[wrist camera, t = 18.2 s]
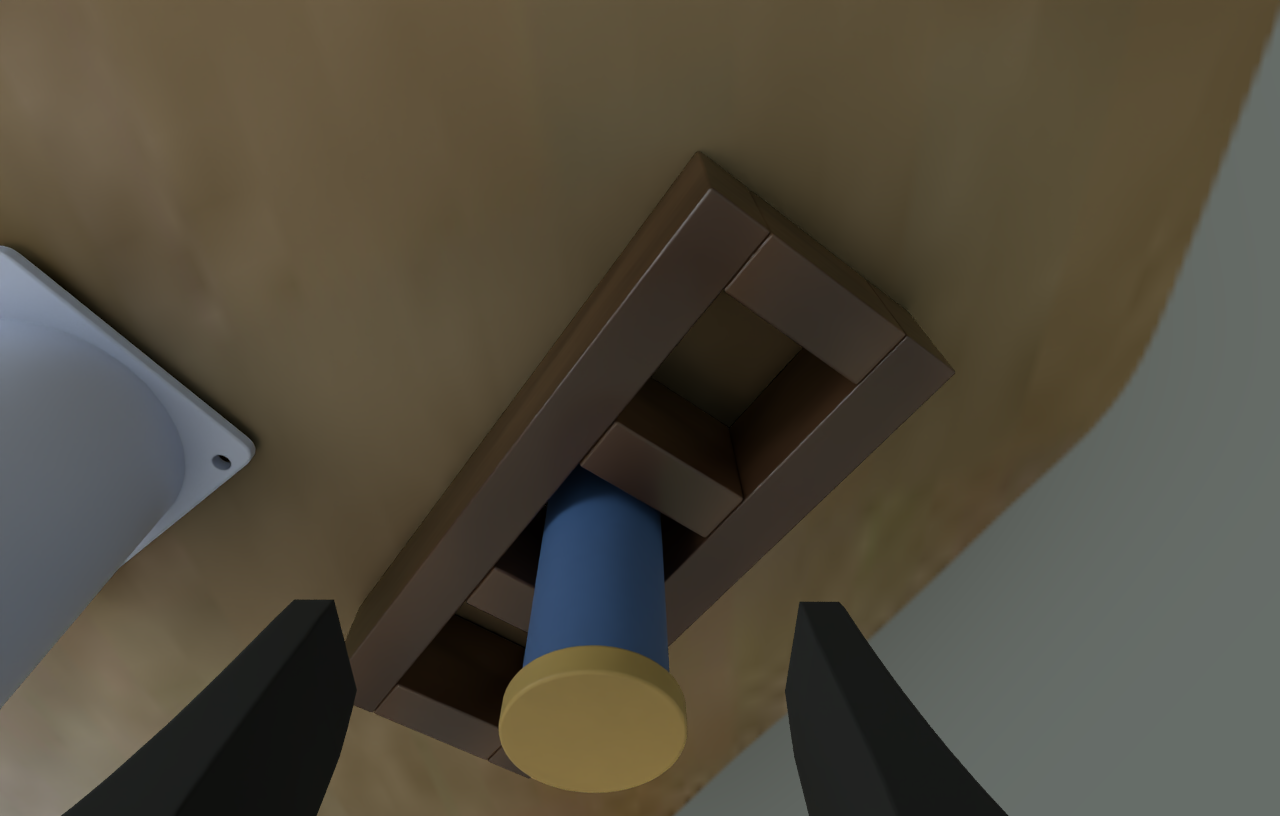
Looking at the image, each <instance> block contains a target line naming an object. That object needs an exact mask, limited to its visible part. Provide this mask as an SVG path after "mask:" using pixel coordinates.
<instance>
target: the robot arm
mask: <svg viewBox="0 0 1280 816" xmlns="http://www.w3.org/2000/svg"><path fill="white" fill-rule="evenodd" d="M255 450H256V448H255V446H254V443H253V442H252V441H251V440H250V439H249V438H248V437H247V436H246V435H245V434H243V433H242V432H241V431H240V430H238V429H237V428H236V427H235V426H233V425H232V424H231V423H230V422H228V421H227V420H226V419H225V418H223V417H222V416H221V415H220V414H218V413H217V412H216V411H215V410H214V409H212V408H211V407H210V406H209V405H207V404H206V403H205V402H204V401H202V400H201V399H200V398H199V397H197V396H196V395H195V394H194V393H192V392H191V391H190V390H189V389H187V388H186V387H185V386H184V385H182V384H181V383H180V382H179V381H178V380H176V379H175V378H174V377H173V376H171V375H170V374H169V373H168V372H166V371H165V370H164V369H163V368H161V367H160V366H159V365H158V364H156V363H155V362H154V361H153V360H151V359H150V358H149V357H148V356H146V355H145V354H144V353H143V352H141V351H140V350H139V349H138V348H137V347H135V346H134V345H133V344H132V343H130V342H129V341H128V340H127V339H125V338H124V337H123V336H122V335H120V334H119V333H118V332H117V331H115V330H114V329H113V328H112V327H110V326H109V325H108V324H107V323H105V322H104V321H103V320H102V319H101V318H99V317H98V316H97V315H96V314H94V313H93V312H92V311H91V310H89V309H88V308H87V307H86V306H84V305H83V304H82V303H81V302H79V301H78V300H77V299H76V298H74V297H73V296H72V295H71V294H69V293H68V292H67V291H66V290H64V289H63V288H62V287H61V286H60V285H58V284H57V283H56V282H55V281H53V280H52V279H51V278H50V277H48V276H47V275H46V274H45V273H43V272H42V271H41V270H40V269H38V268H37V267H36V266H35V265H33V264H32V263H31V262H30V261H28V260H27V259H26V258H25V257H24V256H22V255H21V254H20V253H18V252H17V251H15V250H13V249H12V248H9V247H5V246H0V709H1V708H2V706H3V705H4V704H5V703H6V702H7V700H8V699H9V698H10V697H11V696H12V695H13V693H14V692H15V691H16V690H17V689H18V687H19V686H20V685H21V684H22V683H23V681H24V680H25V679H26V678H27V677H28V676H29V674H30V673H31V672H32V671H33V670H34V668H35V667H36V666H37V665H38V664H39V663H40V661H41V660H42V659H43V658H44V657H45V655H46V654H47V653H48V652H49V651H50V649H51V648H52V647H53V646H54V645H55V644H56V642H57V641H58V640H59V639H60V638H61V636H62V635H63V634H64V633H65V632H66V630H67V629H68V628H69V627H70V626H71V625H72V623H73V622H74V621H75V620H76V619H77V617H78V616H79V615H80V614H81V613H82V611H83V610H84V609H85V608H86V607H87V606H88V604H89V603H90V602H91V601H92V600H93V598H94V597H95V596H96V595H97V594H98V593H99V591H100V590H101V589H102V588H103V587H104V585H105V584H106V583H107V582H108V581H109V579H110V578H111V577H112V576H113V575H114V574H115V572H116V571H117V570H118V569H119V568H120V567H121V566H122V565H124V564H125V563H126V562H127V561H128V560H130V559H131V558H132V557H133V556H135V555H136V554H137V553H138V552H140V551H141V550H142V549H143V548H145V547H146V546H147V545H148V544H149V543H151V542H152V541H153V540H154V539H156V538H157V537H158V536H159V535H161V534H162V533H163V532H164V531H165V530H167V529H168V528H169V527H170V526H172V525H173V524H174V523H175V522H177V521H178V520H179V519H180V518H182V517H183V516H184V515H185V514H186V513H188V512H189V511H190V510H191V509H193V508H194V507H195V506H196V505H198V504H199V503H200V502H201V501H203V500H204V499H205V498H206V497H207V496H209V495H210V494H211V493H212V492H214V491H215V490H216V489H217V488H219V487H220V486H221V485H222V484H223V483H225V482H226V481H227V480H228V479H230V478H231V477H232V476H233V475H235V474H236V473H237V472H238V471H240V470H241V469H242V468H243V467H244V466H246V465H247V464H248V463H249V461H250V460H251V459H252V457H253V456H254V455H255ZM219 455H223V456H225V457H227V458H228V459H229V460H230V462H226V461H224V460H222V459H221V458H220V457H219ZM356 692H357V688H356V684H355V680H354V676H353V672H352V669H351V665H350V661H349V657H348V653H347V649H346V645H345V641H344V637H343V634H342V630H341V626H340V622H339V618H338V614H337V610H336V606H335V602H334V600H293V601H292V602H291V603H290V604H289V605H288V606H287V607H286V608H285V609H284V610H283V611H282V612H281V613H280V614H279V615H278V616H277V617H276V618H275V619H274V620H273V621H272V622H271V623H270V624H269V625H268V626H267V627H266V628H265V629H264V630H263V631H262V632H261V633H260V634H259V635H258V636H257V637H256V638H255V639H254V640H253V641H252V642H251V643H250V644H249V645H248V646H247V647H246V648H245V649H244V650H243V651H242V652H241V653H240V654H239V655H238V656H237V657H236V658H235V659H234V660H233V661H232V662H231V663H230V664H229V665H228V666H227V667H226V668H225V669H224V670H223V671H222V672H221V673H220V674H219V675H218V676H217V677H216V678H215V679H214V680H213V681H212V682H211V683H210V684H209V685H208V686H207V687H206V688H205V689H204V690H203V691H202V692H201V693H200V694H198V695H197V696H196V697H195V698H194V699H193V700H192V701H191V702H190V703H189V704H188V705H187V706H186V707H185V708H184V709H183V710H182V711H181V712H180V713H179V714H178V715H177V716H176V717H175V718H174V719H172V720H171V721H170V722H169V723H168V724H167V725H166V726H165V727H164V728H163V729H162V730H160V731H159V732H158V733H157V734H156V735H155V736H154V737H153V738H152V739H150V740H149V741H148V742H147V743H146V744H145V745H144V746H143V747H142V748H140V749H139V750H138V751H137V752H136V753H135V754H134V755H133V756H132V757H130V758H129V759H128V760H127V761H126V762H125V763H124V764H123V765H122V766H120V767H119V768H118V769H117V770H116V771H115V772H114V773H112V774H111V775H110V776H109V777H108V778H107V779H105V780H104V781H103V782H102V783H101V784H100V785H98V786H97V787H96V788H95V789H94V790H92V791H91V792H90V793H89V794H88V795H86V796H85V797H84V798H83V799H82V800H80V801H79V802H78V803H77V804H75V805H74V806H73V807H72V808H70V809H69V810H68V811H67V812H65V813H64V814H63V815H62V816H317V813H318V811H319V808H320V806H321V803H322V801H323V798H324V795H325V793H326V790H327V788H328V785H329V783H330V780H331V777H332V775H333V772H334V770H335V767H336V764H337V762H338V759H339V757H340V753H341V750H342V746H343V742H344V739H345V735H346V732H347V728H348V724H349V720H350V716H351V712H352V708H353V704H354V700H355V696H356ZM785 694H786V701H787V709H788V716H789V724H790V730H791V737H792V744H793V751H794V757H795V761H796V765H797V769H798V773H799V777H800V781H801V785H802V789H803V793H804V797H805V801H806V805H807V809H808V813H809V816H1008V815H1007V814H1006V813H1005V812H1004V811H1003V810H1002V808H1001V807H1000V806H999V805H998V804H997V803H996V802H995V801H994V800H993V799H992V798H991V797H990V795H989V794H988V793H987V792H986V791H985V790H984V789H983V788H982V787H981V786H980V784H979V783H978V782H977V781H976V780H975V779H974V778H973V776H972V775H971V774H970V773H969V772H968V771H967V769H966V768H965V767H964V766H963V765H962V764H961V763H960V761H959V760H958V759H957V758H956V757H955V756H954V755H953V753H952V752H951V751H950V750H949V749H948V747H947V746H946V745H945V744H944V742H943V741H942V740H941V739H940V738H939V736H938V735H937V734H936V733H935V731H934V730H933V729H932V728H931V727H930V725H929V724H928V723H927V721H926V720H925V719H924V718H923V716H922V715H921V714H920V712H919V711H918V710H917V709H916V707H915V706H914V705H913V703H912V702H911V701H910V700H909V698H908V697H907V696H906V694H905V693H904V692H903V691H902V689H901V688H900V686H899V685H898V684H897V683H896V681H895V680H894V679H893V677H892V676H891V674H890V673H889V672H888V670H887V669H886V667H885V666H884V665H883V663H882V662H881V660H880V659H879V658H878V656H877V655H876V654H875V652H874V651H873V649H872V648H871V646H870V645H869V643H868V642H867V640H866V639H865V638H864V636H863V635H862V633H861V632H860V630H859V629H858V627H857V626H856V624H855V623H854V621H853V620H852V618H851V617H850V615H849V614H848V612H847V611H846V609H845V608H844V607H843V606H842V605H841V604H840V603H839V602H800V603H799V609H798V615H797V621H796V627H795V633H794V640H793V646H792V652H791V658H790V664H789V671H788V677H787V683H786V689H785Z"/></svg>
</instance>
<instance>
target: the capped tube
mask: <svg viewBox="0 0 1280 816" xmlns="http://www.w3.org/2000/svg"><path fill="white" fill-rule="evenodd" d="M498 728H499V737H500V741H501V745H502V747H503V749H504V751H505V753H506V755H507V756H508V758H509V759H510V760H511V761H512V762H513V763H514V765H515V766H516V767H518V768H519V769H520V770H521V771H523V772H524V773H525V774H527V775H528V776H530V777H532V778H533V779H535V780H538V781H540V782H542V783H544V784H547V785H549V786H552V787H556V788H559V789H563V790H569V791H574V792H584V793H604V792H614V791H620V790H625V789H629V788H633V787H636V786H639V785H642V784H644V783H646V782H649V781H651V780H653V779H654V778H656V777H658V776H660V775H661V774H662V773H664V772H665V771H667V770H668V769H669V768H670V767H671V766H672V765H673V764H674V763H675V761H676V760H677V759H678V758H679V756H680V754H681V752H682V751H683V748H684V746H685V743H686V739H687V717H686V704H685V699H684V695H683V693H682V690H681V688H680V686H679V685H678V683H677V682H676V680H675V679H674V677H673V676H672V675H671V674H670V673H669V657H668V639H667V621H666V602H665V584H664V566H663V548H662V530H661V512H659V511H657V510H656V509H654V508H652V507H650V506H649V505H647V504H645V503H643V502H642V501H640V500H638V499H637V498H635V497H633V496H631V495H630V494H628V493H626V492H624V491H623V490H621V489H619V488H617V487H616V486H614V485H612V484H611V483H609V482H607V481H605V480H604V479H602V478H600V477H598V476H597V475H595V474H593V473H591V472H590V471H588V470H586V469H585V468H583V467H581V466H580V463H579V464H578V465H577V466H576V468H575V469H574V470H573V471H572V472H571V474H570V475H569V476H568V477H567V478H566V480H565V481H564V482H563V483H562V484H561V486H560V487H559V488H558V489H557V490H556V492H555V493H554V494H553V495H552V497H551V498H550V499H549V500H548V505H547V511H546V518H545V524H544V531H543V538H542V544H541V551H540V557H539V564H538V570H537V577H536V584H535V590H534V597H533V603H532V610H531V616H530V623H529V629H528V636H527V643H526V649H525V656H524V662H523V668H522V669H521V670H520V671H519V672H518V673H517V674H516V675H515V676H514V678H513V679H512V680H511V681H510V683H509V685H508V687H507V688H506V691H505V694H504V696H503V702H502V708H501V714H500V720H499V726H498Z"/></svg>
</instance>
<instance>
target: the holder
mask: <svg viewBox="0 0 1280 816" xmlns="http://www.w3.org/2000/svg"><path fill="white" fill-rule="evenodd" d="M723 289H724V291H725V292H726V293H727V294H728V295H730V296H731V297H733V298H734V299H736V300H737V301H738V302H740V303H741V304H743V305H744V306H745V307H747V308H748V309H750V310H751V311H752V312H754V313H755V314H757V315H758V316H759V317H761V318H762V319H764V320H765V321H767V322H768V323H769V324H771V325H772V326H774V327H775V328H776V329H778V330H779V331H781V332H782V333H783V334H785V335H786V336H788V337H789V338H790V339H792V340H793V341H795V342H796V343H797V344H799V345H800V346H802V347H803V349H802V350H801V351H800V352H799V353H798V354H797V355H796V357H795V358H794V359H793V360H792V361H791V362H790V363H789V364H788V365H787V366H786V367H785V369H784V370H783V371H782V372H781V373H780V374H779V375H778V376H777V377H776V378H775V379H774V380H773V382H772V383H771V384H770V385H769V386H768V387H767V388H766V389H765V390H764V391H763V392H762V393H761V395H760V396H759V397H758V398H757V399H756V400H755V401H754V402H753V403H752V404H751V405H750V407H749V408H748V409H747V410H746V411H745V412H744V413H743V414H742V415H741V416H740V417H739V418H738V420H737V421H736V422H735V423H734V424H733V425H732V426H731V427H730V428H728V427H727V426H725V425H724V424H722V423H721V422H719V421H717V420H716V419H714V418H713V417H711V416H710V415H708V414H707V413H705V412H703V411H702V410H700V409H699V408H697V407H696V406H694V405H693V404H691V403H689V402H688V401H686V400H685V399H683V398H682V397H680V396H678V395H677V394H675V393H674V392H672V391H671V390H669V389H668V388H666V387H664V386H663V385H661V384H660V383H658V382H657V381H655V380H654V379H652V378H650V377H651V376H652V375H653V373H654V372H655V371H656V370H657V369H658V367H659V366H660V365H661V364H662V362H663V361H664V360H665V359H666V358H667V356H668V355H669V354H670V353H671V352H672V350H673V349H674V348H675V347H676V346H677V344H678V343H679V342H680V341H681V340H682V338H683V337H684V336H685V335H686V333H687V332H688V331H689V330H690V329H691V327H692V326H693V325H694V324H695V323H696V321H697V320H698V319H699V318H700V317H701V315H702V314H703V313H704V312H705V311H706V309H707V308H708V307H709V306H710V305H711V303H712V302H713V301H714V300H715V298H716V297H717V296H718V295H719V294H720V292H721V291H722V290H723ZM954 374H955V371H954V369H953V368H952V367H951V366H950V364H949V363H948V362H947V361H946V359H945V358H944V357H943V355H942V354H941V353H940V352H939V350H938V349H937V348H936V347H935V345H934V344H933V343H932V342H931V340H930V339H929V338H928V337H927V335H926V334H925V333H924V332H923V330H922V329H921V328H920V326H919V325H918V324H917V323H916V321H915V320H914V319H913V318H912V316H911V315H910V314H909V313H908V312H907V311H906V310H905V309H904V308H902V307H901V306H900V305H898V304H897V303H896V302H894V301H893V300H892V299H891V298H889V297H888V296H887V295H885V294H884V293H883V292H882V291H880V290H879V289H878V288H876V287H875V286H874V285H872V284H871V283H870V282H869V281H866V280H865V279H864V278H863V277H862V276H861V275H859V274H858V273H857V272H855V271H854V270H853V269H852V268H850V267H849V266H848V265H846V264H845V263H844V262H842V261H841V260H840V259H839V258H837V257H836V256H835V255H833V254H832V253H831V252H830V251H828V250H827V249H826V248H824V247H823V246H822V245H820V244H819V243H818V242H817V241H815V240H814V239H813V238H811V237H810V236H809V235H808V234H806V233H805V232H804V231H802V230H801V229H800V228H798V227H797V226H796V225H795V224H793V223H792V222H791V221H789V220H788V219H787V218H786V217H784V216H783V215H782V214H780V213H779V212H778V211H776V210H775V209H774V208H773V207H771V206H770V205H769V204H767V203H766V202H765V201H764V200H762V199H761V198H760V197H758V196H757V195H756V194H754V193H753V192H752V191H749V190H748V188H747V187H746V186H744V185H743V184H742V183H740V182H739V181H738V180H736V179H735V178H734V177H733V176H731V175H730V174H729V173H727V172H726V171H725V170H724V169H722V168H721V167H720V166H718V165H717V164H716V163H714V162H713V161H712V160H711V159H709V158H708V157H707V156H705V155H704V154H703V153H702V152H700V151H698V152H696V153H695V155H694V156H693V157H692V159H691V160H690V161H689V163H688V164H687V165H686V167H685V168H684V170H683V171H682V172H681V174H680V175H679V176H678V178H677V179H676V180H675V182H674V183H673V184H672V186H671V187H670V188H669V190H668V191H667V192H666V194H665V195H664V197H663V198H662V199H661V201H660V202H659V203H658V205H657V206H656V207H655V209H654V210H653V211H652V213H651V214H650V215H649V217H648V218H647V220H646V221H645V222H644V224H643V225H642V226H641V228H640V229H639V230H638V232H637V233H636V234H635V236H634V237H633V238H632V240H631V241H630V243H629V244H628V245H627V247H626V248H625V249H624V251H623V252H622V253H621V255H620V256H619V257H618V259H617V260H616V261H615V263H614V264H613V266H612V267H611V268H610V270H609V271H608V272H607V274H606V275H605V276H604V278H603V279H602V280H601V282H600V283H599V284H598V286H597V287H596V288H595V290H594V291H593V293H592V294H591V295H590V297H589V298H588V299H587V301H586V302H585V303H584V305H583V306H582V307H581V309H580V310H579V311H578V313H577V314H576V316H575V317H574V318H573V320H572V321H571V322H570V324H569V325H568V326H567V328H566V329H565V330H564V332H563V333H562V334H561V336H560V337H559V339H558V340H557V341H556V343H555V344H554V345H553V347H552V348H551V349H550V351H549V352H548V353H547V355H546V356H545V357H544V359H543V360H542V362H541V363H540V364H539V366H538V367H537V368H536V370H535V371H534V372H533V374H532V375H531V376H530V378H529V379H528V380H527V382H526V383H525V384H524V386H523V387H522V389H521V390H520V391H519V393H518V394H517V395H516V397H515V398H514V399H513V401H512V402H511V403H510V405H509V406H508V407H507V409H506V410H505V412H504V413H503V414H502V416H501V417H500V418H499V420H498V421H497V422H496V424H495V425H494V426H493V428H492V429H491V430H490V432H489V433H488V435H487V436H486V437H485V439H484V440H483V441H482V443H481V444H480V445H479V447H478V448H477V449H476V451H475V452H474V453H473V455H472V456H471V458H470V459H469V460H468V462H467V463H466V464H465V466H464V467H463V468H462V470H461V471H460V472H459V474H458V475H457V476H456V478H455V479H454V480H453V482H452V483H451V485H450V486H449V487H448V489H447V490H446V491H445V493H444V494H443V495H442V497H441V498H440V499H439V501H438V502H437V503H436V505H435V506H434V508H433V509H432V510H431V512H430V513H429V514H428V516H427V517H426V518H425V520H424V521H423V522H422V524H421V525H420V526H419V528H418V529H417V531H416V532H415V533H414V535H413V536H412V537H411V539H410V540H409V541H408V543H407V544H406V545H405V547H404V548H403V549H402V551H401V552H400V554H399V555H398V556H397V558H396V559H395V560H394V562H393V563H392V564H391V566H390V567H389V568H388V570H387V571H386V572H385V574H384V575H383V576H382V578H381V579H380V581H379V582H378V583H377V585H376V586H375V587H374V589H373V590H372V591H371V593H370V594H369V595H368V597H367V598H366V599H365V601H364V602H363V604H362V605H361V606H360V608H359V610H358V612H357V615H356V617H355V619H354V622H353V624H352V627H351V629H350V631H349V634H348V636H347V639H346V641H345V645H346V649H347V653H348V657H349V661H350V665H351V669H352V672H353V676H354V680H355V684H356V688H357V692H356V696H355V700H354V704H353V705H355V706H357V707H360V708H362V709H364V710H367V711H369V712H373V711H374V713H375V714H377V715H379V716H382V717H384V718H387V719H389V720H391V721H394V722H396V723H399V724H401V725H403V726H406V727H408V728H411V729H413V730H415V731H418V732H420V733H423V734H425V735H427V736H430V737H432V738H435V739H437V740H439V741H442V742H444V743H447V744H449V745H451V746H454V747H456V748H458V749H461V750H463V751H466V752H468V753H470V754H473V755H475V756H478V757H480V758H482V759H485V760H488V761H489V762H491V763H493V764H495V765H498V766H500V767H503V768H505V769H507V770H510V771H512V772H515V773H517V774H519V775H522V776H524V777H527V778H531V777H530V776H528V775H527V774H525V773H524V772H523V771H521V770H520V769H519V768H518V767H516V766H515V765H514V763H513V762H512V761H511V760H510V759H509V758H508V756H507V755H506V753H505V751H504V749H503V747H502V745H501V741H500V737H499V728H498V726H499V720H500V714H501V708H502V702H503V696H504V694H505V691H506V688H507V687H508V685H509V683H510V681H511V680H512V679H513V678H514V676H515V675H516V674H517V673H518V672H519V671H520V670H521V669H522V668H523V662H524V656H525V649H524V648H523V647H521V646H519V645H517V644H515V643H513V642H510V641H508V640H506V639H504V638H502V637H500V636H498V635H496V634H494V633H492V632H489V631H487V630H485V629H483V628H481V627H479V626H477V625H475V624H473V623H471V622H469V621H466V620H464V619H462V618H460V617H458V616H456V615H454V614H455V612H456V611H457V610H458V609H459V608H460V606H461V605H462V604H463V603H464V602H465V600H466V602H467V603H468V604H470V605H472V606H474V607H476V608H478V609H480V610H482V611H484V612H486V613H488V614H490V615H492V616H494V617H496V618H498V619H500V620H502V621H505V622H507V623H509V624H511V625H513V626H515V627H517V628H519V629H521V630H523V631H525V632H527V633H528V629H529V623H530V616H531V610H532V603H533V597H534V590H535V584H536V577H537V570H538V564H539V557H540V551H541V544H542V538H543V531H544V524H545V518H546V511H547V509H545V508H543V506H544V505H545V504H546V503H547V501H548V500H549V499H550V498H551V497H552V495H553V494H554V493H555V492H556V490H557V489H558V488H559V487H560V486H561V484H562V483H563V482H564V481H565V480H566V478H567V477H568V476H569V475H570V474H571V472H572V471H573V470H574V469H575V468H576V466H577V465H578V464H579V463H580V466H581V467H583V468H585V469H586V470H588V471H590V472H591V473H593V474H595V475H597V476H598V477H600V478H602V479H604V480H605V481H607V482H609V483H611V484H612V485H614V486H616V487H617V488H619V489H621V490H623V491H624V492H626V493H628V494H630V495H631V496H633V497H635V498H637V499H638V500H640V501H642V502H643V503H645V504H647V505H649V506H650V507H652V508H654V509H656V510H657V511H659V512H661V530H662V548H663V566H664V584H665V602H666V621H667V639H668V647H669V646H670V645H671V644H672V643H673V642H674V641H675V640H676V639H677V638H678V637H679V636H680V635H681V634H682V633H683V632H684V631H685V630H686V629H687V628H688V627H689V626H691V625H692V624H693V623H694V622H695V621H696V620H697V619H698V618H699V617H700V616H701V615H702V614H703V613H704V612H705V611H706V610H707V609H708V608H709V607H710V606H712V605H713V604H714V603H715V602H716V601H717V600H718V599H719V598H720V597H721V596H722V595H723V594H724V593H725V592H726V591H727V590H728V589H729V588H730V587H731V586H732V585H734V584H735V583H736V582H737V581H738V580H739V579H740V578H741V577H742V576H743V575H744V574H745V573H746V572H747V571H748V570H749V569H750V568H751V567H752V566H753V565H755V564H756V563H757V562H758V561H759V560H760V559H761V558H762V557H763V556H764V555H765V554H766V553H767V552H768V551H769V550H770V549H771V548H772V547H773V546H774V545H776V544H777V543H778V542H779V541H780V540H781V539H782V538H783V537H784V536H785V535H786V534H787V533H788V532H789V531H790V530H791V529H792V528H793V527H794V526H795V525H796V524H798V523H799V522H800V521H801V520H802V519H803V518H804V517H805V516H806V515H807V514H808V513H809V512H810V511H811V510H812V509H813V508H814V507H815V506H816V505H817V504H819V503H820V502H821V501H822V500H823V499H824V498H825V497H826V496H827V495H828V494H829V493H830V492H831V491H832V490H833V489H834V488H835V487H836V486H837V485H838V484H839V483H841V482H842V481H843V480H844V479H845V478H846V477H847V476H848V475H849V474H850V473H851V472H852V471H853V470H854V469H855V468H856V467H857V466H858V465H859V464H860V463H862V462H863V461H864V460H865V459H866V458H867V457H868V456H869V455H870V454H871V453H872V452H873V451H874V450H875V449H876V448H877V447H878V446H879V445H880V444H881V443H882V442H884V441H885V440H886V439H887V438H888V437H889V436H890V435H891V434H892V433H893V432H894V431H895V430H896V429H897V428H898V427H899V426H900V425H901V424H902V423H903V422H905V421H906V420H907V419H908V418H909V417H910V416H911V415H912V414H913V413H914V412H915V411H916V410H917V409H918V408H919V407H920V406H921V405H922V404H923V403H924V402H925V401H927V400H928V399H929V398H930V397H931V396H932V395H933V394H934V393H935V392H936V391H937V390H938V389H939V388H940V387H941V386H942V385H943V384H944V383H945V382H946V381H948V380H949V379H950V378H951V377H952V376H953V375H954Z"/></svg>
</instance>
